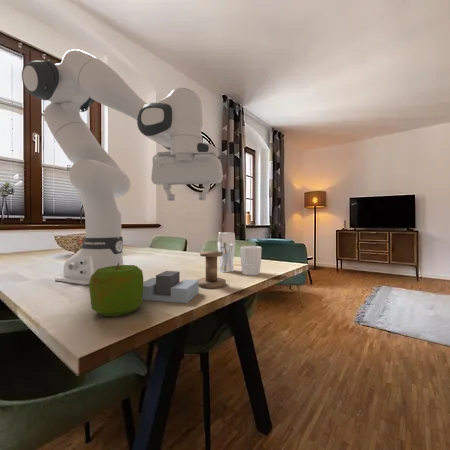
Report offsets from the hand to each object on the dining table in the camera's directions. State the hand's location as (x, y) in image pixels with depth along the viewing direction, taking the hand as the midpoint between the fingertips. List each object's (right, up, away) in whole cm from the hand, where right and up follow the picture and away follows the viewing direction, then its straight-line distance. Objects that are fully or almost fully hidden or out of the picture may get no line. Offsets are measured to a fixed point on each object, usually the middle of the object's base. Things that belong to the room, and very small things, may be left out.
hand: (186, 200), depth 73 cm
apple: (-13, -26, -15) cm, 33 cm away
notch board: (-4, -26, -4) cm, 26 cm away
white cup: (+20, -25, +25) cm, 41 cm away
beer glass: (+11, -25, +30) cm, 41 cm away
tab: (-4, -25, -4) cm, 25 cm away
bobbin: (+7, -25, +8) cm, 28 cm away
